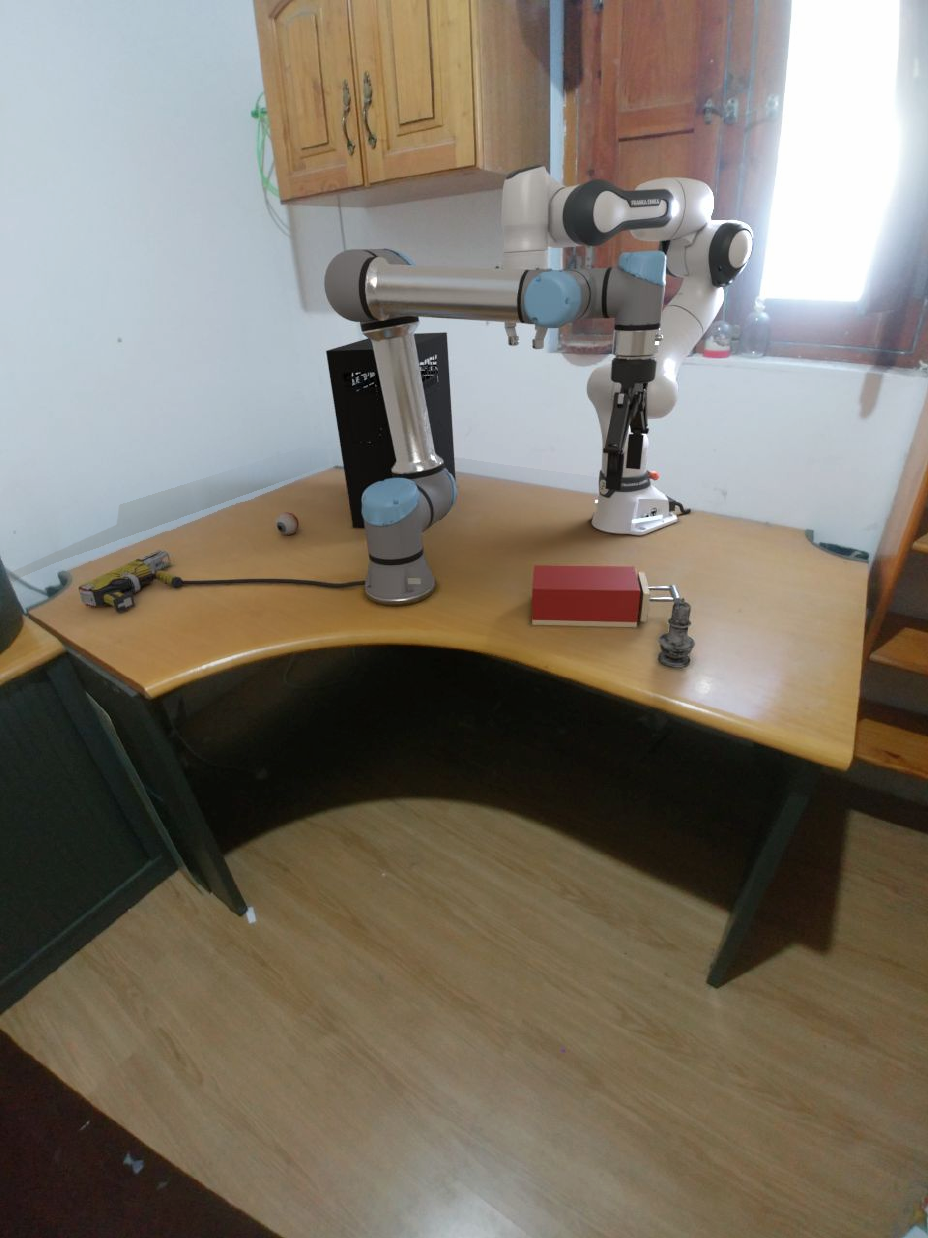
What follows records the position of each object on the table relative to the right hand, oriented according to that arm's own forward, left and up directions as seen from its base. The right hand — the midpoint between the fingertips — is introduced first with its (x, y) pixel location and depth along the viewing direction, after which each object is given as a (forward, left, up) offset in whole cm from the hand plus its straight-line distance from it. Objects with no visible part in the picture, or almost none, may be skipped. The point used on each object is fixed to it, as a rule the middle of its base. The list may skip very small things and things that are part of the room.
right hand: (525, 346), depth 124 cm
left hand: (-5, +28, -21) cm, 36 cm away
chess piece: (+1, +53, -46) cm, 70 cm away
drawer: (0, +35, -45) cm, 57 cm away
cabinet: (+5, +32, -46) cm, 56 cm away
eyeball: (+49, -44, -46) cm, 80 cm away
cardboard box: (+13, -48, -46) cm, 68 cm away
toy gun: (+85, -27, -46) cm, 100 cm away
